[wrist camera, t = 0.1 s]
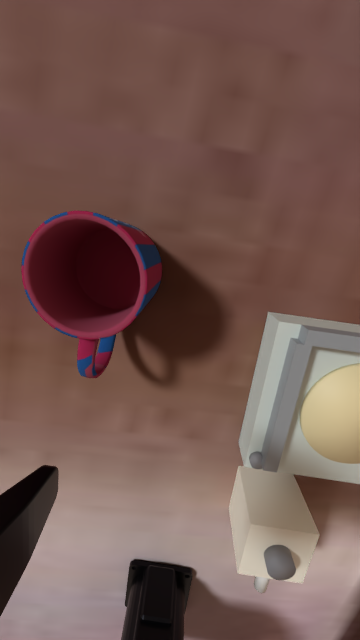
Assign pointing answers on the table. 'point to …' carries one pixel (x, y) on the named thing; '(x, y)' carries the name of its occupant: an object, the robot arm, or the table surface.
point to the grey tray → (305, 400)
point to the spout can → (271, 527)
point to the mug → (90, 280)
